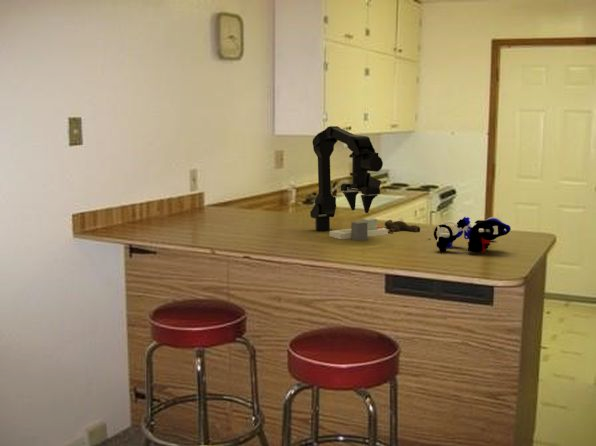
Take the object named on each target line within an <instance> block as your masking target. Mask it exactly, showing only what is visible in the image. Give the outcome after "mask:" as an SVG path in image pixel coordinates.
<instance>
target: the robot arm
mask: <svg viewBox="0 0 596 446" xmlns="http://www.w3.org/2000/svg"><path fill="white" fill-rule="evenodd" d="M337 142H341V143H343V144H345V145H346V146H347V148H348V149H349V150H350V151H351V153H350V155H348V156H349V158H350V159H352V162H351V163H352V167H351V169H352V170H351V171H352V172H349V176H351V178H352V179H351V180H352V182H347V183H342V184H341V185H340V191H341V192H342V194H343V195H344V198H345V199H346V201H347V203H348V205H349V207H350V209H351V211H355V209H356V203H357V201H356V200H357V195H358V194H359V193H360V192H361V193H360V197H361V202H362V206H363V210H364V213H365V214H368V213H369V211H370V208H371V205H372V202H373V201H374V199H375V198H376V197H378V196H379V195H381V188H380V187H381V184H382V180H381V179H380V180H379V179H377V178H374V177H373V176H371V175H372V174H371V173H370V172H374V173H375V172H379V171H381V170H382V168H383V166H384V165H383V164H384V163H383V160H382V157H380V156H379V152H376V149H375V148H374V145H373V144H372V141H371V139H370V137H369V136H367V135H359V134H353V133H352V132H349V131H348V130H345V129H344V128H341V126H338V125H337V126H336V125H335V126H334V125H333V126H332V125H330V126H327V127H326V128H325V129H324V130H322V131H321V132H319V133H317V134H316V135H315V136H314V138H313V139H312V146H313V152H314V154H315V155H316V156H317V173H318V174H317V178H318V194H317V195H316V196H315V199H314V205H313V207H312V208H311V210H310V211H309V213H310V214H309V216H310V218H311V219H315V221H314V222H315V225H314V227H315V229H314V230H315V231H318V232H330V231H331V230H330V229H331V224H330V223H331V222H330V221H331V219H330V218H334V217H335V214H336V208H337V198H336V196H334V195H333V194H332V190H331V189H332V185H331V179H332V178H331V156H332V154H333V152H334V151H335V145H336V143H337Z"/></svg>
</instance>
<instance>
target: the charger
mask: <svg viewBox="0 0 596 446" xmlns="http://www.w3.org/2000/svg"><path fill="white" fill-rule="evenodd" d="M350 227H351V228H350V229H351V238H350V240H353V241H357V242H358V241H359V242H360V241H367V240H368V236H367V223H366V222H365V221H362V220H353V221H351V223H350Z"/></svg>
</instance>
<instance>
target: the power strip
mask: <svg viewBox="0 0 596 446" xmlns="http://www.w3.org/2000/svg"><path fill="white" fill-rule="evenodd" d="M388 231H389V228H386V227H385V228H384V227H383V226H382V225H377V230H368V231H367V237H376V236H384V235H389V233H388ZM329 237H331V238H335V239H338V240H346V239H351V228H348V229H347V228H346V229H337V230H336V229H335V230H334V229H333V230H330V231H329Z"/></svg>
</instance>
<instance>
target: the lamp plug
mask: <svg viewBox="0 0 596 446" xmlns="http://www.w3.org/2000/svg"><path fill="white" fill-rule="evenodd" d="M361 221H365V222H366V223H367V231H368V230H377V226H378V218H373V217H366V218H361Z"/></svg>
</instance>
